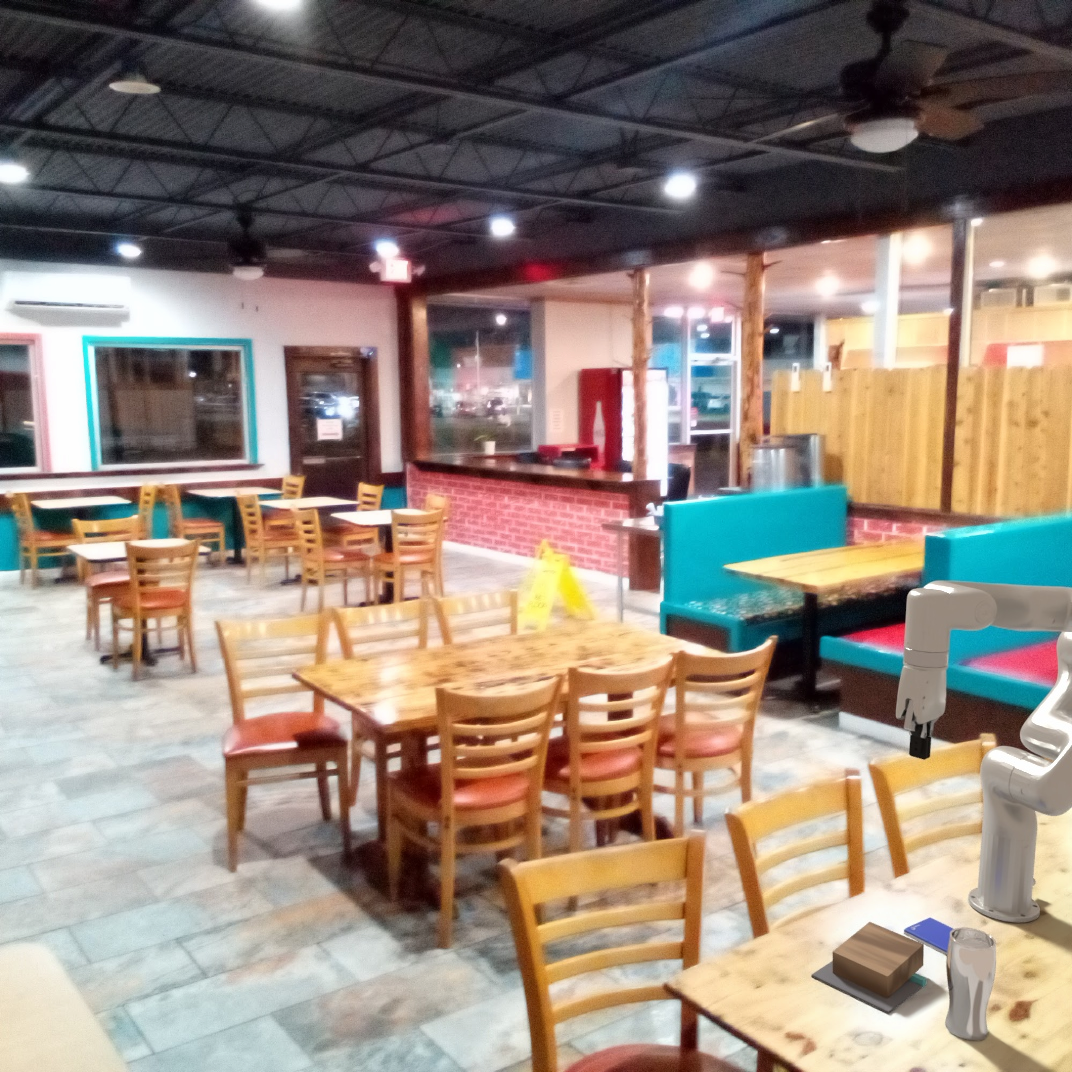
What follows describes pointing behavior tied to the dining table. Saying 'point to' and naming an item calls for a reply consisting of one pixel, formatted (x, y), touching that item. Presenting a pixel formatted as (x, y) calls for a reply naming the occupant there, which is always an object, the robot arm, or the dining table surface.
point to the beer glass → (969, 981)
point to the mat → (864, 994)
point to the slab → (878, 959)
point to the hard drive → (930, 934)
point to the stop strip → (918, 979)
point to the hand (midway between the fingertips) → (919, 756)
